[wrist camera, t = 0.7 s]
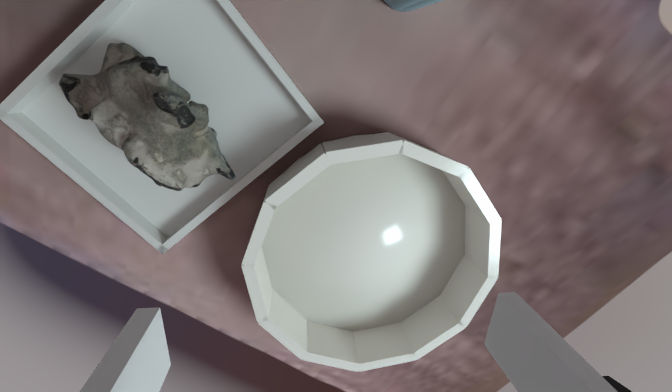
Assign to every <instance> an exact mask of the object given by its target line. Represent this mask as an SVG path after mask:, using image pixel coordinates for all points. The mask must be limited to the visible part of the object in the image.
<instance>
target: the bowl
mask: <svg viewBox="0 0 672 392" xmlns="http://www.w3.org/2000/svg"><path fill="white" fill-rule="evenodd" d="M322 144H323V145H322ZM322 144H321V143H320V144H319V145H317V146H316V147H315V148H314V149H312V150H311V151H310V152H308V153H306V154H305V155H303V156H302V157H301V158H299V159H298V160H296V161H295V162H294V163H293V164H292V165H291V166H289V167H288V168H287V169H286V170H285V171H284V172H283V173H282V174H281V175H280V176H279V177H278V178H276V179H275V180H274V181H273V182H271V183H270V185H269V186H268V189H267V192H266V195H265V197H264V200H263V203H262V206H261V209H260V211H259V214H258V217H257V220H256V223H255V226H254V228H253V231H252V234H251V237H250V240H249V243H248V246H247V249H246V252H245V255H244V258H243V261H242V264H241V265H242V266H241V267H242V270H243V274H244V277H245V281H246V284H247V288H248V292H249V295H250V299H251V302H252V306H253V309H254V313H255V316H256V320H257V322H258V324H259V325H261V326H262V327H263V328H264V329H265V330H266V331H268V332H269V333H270V334H271V335H272V336H274V337H275V338H276V339H277V340H278V341H279V342H281V343H282V344H283V345H284V346H285V347H287V348H288V349H289V350H290V351H291V352H292V353H294V354H295V355H296V356H297V357H298V358H300V359H302V360H305V361H309V362H314V363H319V364H323V365H328V366H332V367H337V368H342V369H346V370H351V371H356V372H358V371H359V372H360V371H365V370H370V369H375V368H380V367H385V366H390V365H395V364H400V363H405V362H410V361H415V360H416V359H417V360H418V359H419V358H421V357H422V356H424V355H425V354H427V353H428V352H430V351H431V350H433V349H434V348H436V347H437V346H439V345H440V344H442V343H443V342H445V341H446V340H448V339H450V338H451V337H453V336H454V335H456V334H457V333H459V332H460V331H462V330H463V329H465V328H466V327H467V326H468V324H469V323H470V321H471V319H472V318H473V316H474V315H475V313H476V312H477V310H478V308H479V307H480V305H481V304H482V302H483V301H484V299H485V298H486V296H487V294H488V293H489V291H490V290H491V288H492V287H493V285H494V283H495V282H496V280H497V279H498V278H497V277H498V272H499V255H500V238H501V221H502V220H500V219H501V218H500V216H499V214H498V213H497V211H496V210H495V208H494V206H493V205H492V203H491V202H490V200H489V198H488V197H487V195H486V193H485V192H484V190H483V189H482V187H481V185H480V184H479V182H478V181H477V179H476V177H475V176H474V174H473V172H472V171H471V169H470V168H469V167H468V166H466V165H464V164H462V163H460V162H457V161H455V160H453V159H451V158H449V157H447V156H445V155H443V154H440V153H438V152H435V151H433V150H431V149H428V148H426V147H423V146H421V145H419V144H416V143H414V142H412V141H409V140H407V139H404V138H402V137H400V136H397V135H395V134H392V133H390V132H385V133H378V134H366V135H355V136H350V137H345V138H341V139H337V140H333V141H327V142H322ZM465 326H466V327H465Z"/></svg>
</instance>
